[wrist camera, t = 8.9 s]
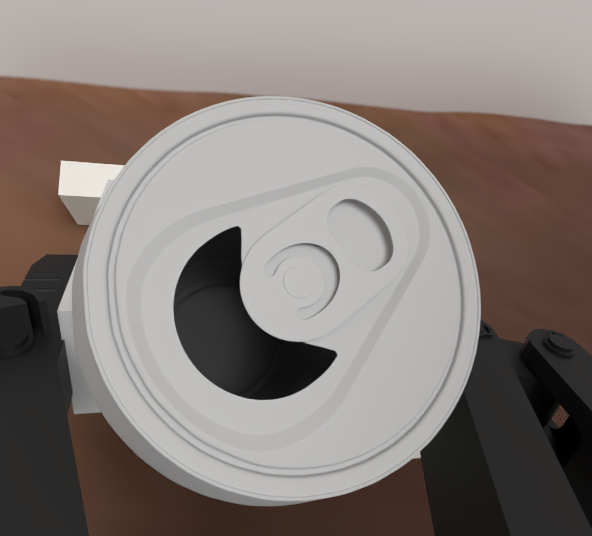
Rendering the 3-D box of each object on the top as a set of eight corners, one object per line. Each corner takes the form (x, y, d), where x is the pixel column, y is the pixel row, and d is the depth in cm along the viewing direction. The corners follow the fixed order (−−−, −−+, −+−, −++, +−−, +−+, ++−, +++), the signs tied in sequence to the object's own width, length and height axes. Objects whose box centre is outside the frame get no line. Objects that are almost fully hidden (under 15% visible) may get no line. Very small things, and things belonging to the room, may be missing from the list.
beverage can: (99, 325, 16) (-82, 215, 5) (236, 232, 18) (332, 7, 7) (203, 463, 16) (268, 680, 5) (329, 352, 18) (579, 319, 7)
